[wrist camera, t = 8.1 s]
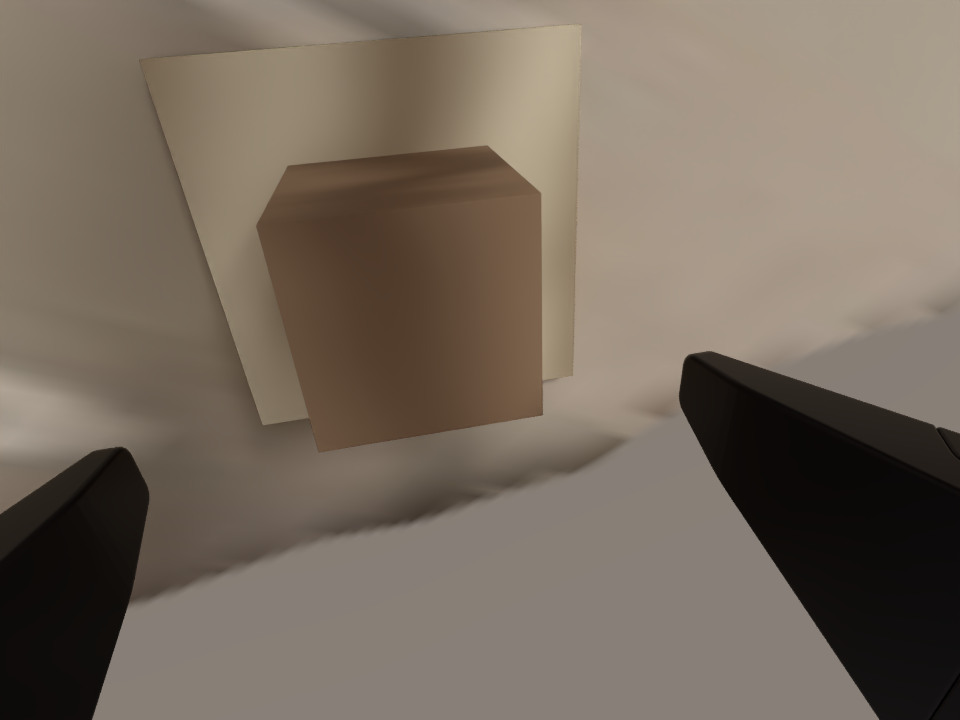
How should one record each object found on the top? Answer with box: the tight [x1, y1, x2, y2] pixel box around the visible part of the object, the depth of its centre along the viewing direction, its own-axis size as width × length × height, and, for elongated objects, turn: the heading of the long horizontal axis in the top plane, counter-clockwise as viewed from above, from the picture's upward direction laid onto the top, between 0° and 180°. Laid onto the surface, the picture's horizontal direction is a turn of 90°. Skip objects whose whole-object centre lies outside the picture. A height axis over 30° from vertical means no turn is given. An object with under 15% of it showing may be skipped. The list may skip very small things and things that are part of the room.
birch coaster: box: [139, 24, 581, 425], centre depth 16 cm, size 10×10×1 cm
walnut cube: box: [256, 145, 543, 452], centre depth 13 cm, size 5×5×5 cm
